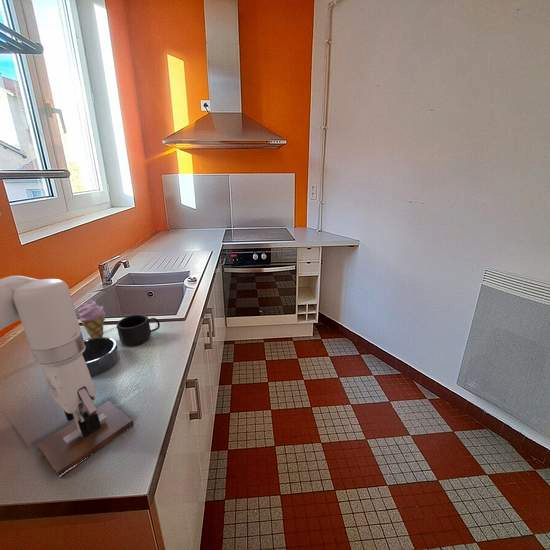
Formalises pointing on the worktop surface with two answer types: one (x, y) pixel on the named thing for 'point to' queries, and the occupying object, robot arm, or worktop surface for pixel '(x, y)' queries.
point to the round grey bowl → (100, 355)
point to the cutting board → (84, 439)
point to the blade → (78, 431)
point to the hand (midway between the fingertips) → (83, 423)
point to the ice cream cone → (92, 318)
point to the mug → (135, 329)
